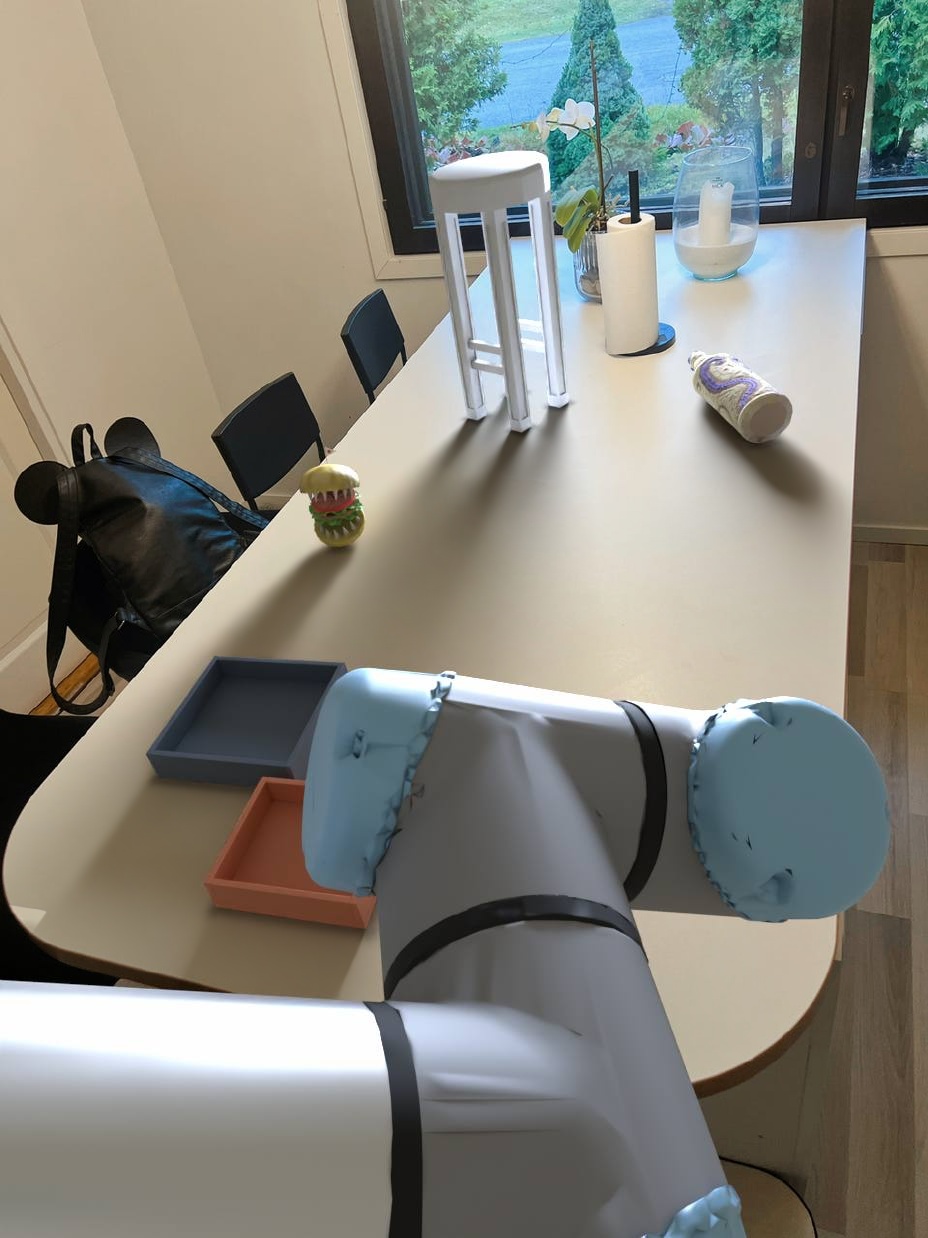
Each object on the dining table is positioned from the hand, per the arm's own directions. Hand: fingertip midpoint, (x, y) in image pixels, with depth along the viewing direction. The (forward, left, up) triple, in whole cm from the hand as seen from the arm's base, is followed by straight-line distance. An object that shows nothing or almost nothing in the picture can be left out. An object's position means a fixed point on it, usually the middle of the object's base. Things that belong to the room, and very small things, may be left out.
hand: (456, 840), depth 63 cm
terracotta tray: (-14, +2, -8) cm, 16 cm away
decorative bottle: (+18, +85, -8) cm, 87 cm away
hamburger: (-30, +51, -8) cm, 60 cm away
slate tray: (-26, +16, -8) cm, 32 cm away
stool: (-14, +87, -8) cm, 88 cm away
